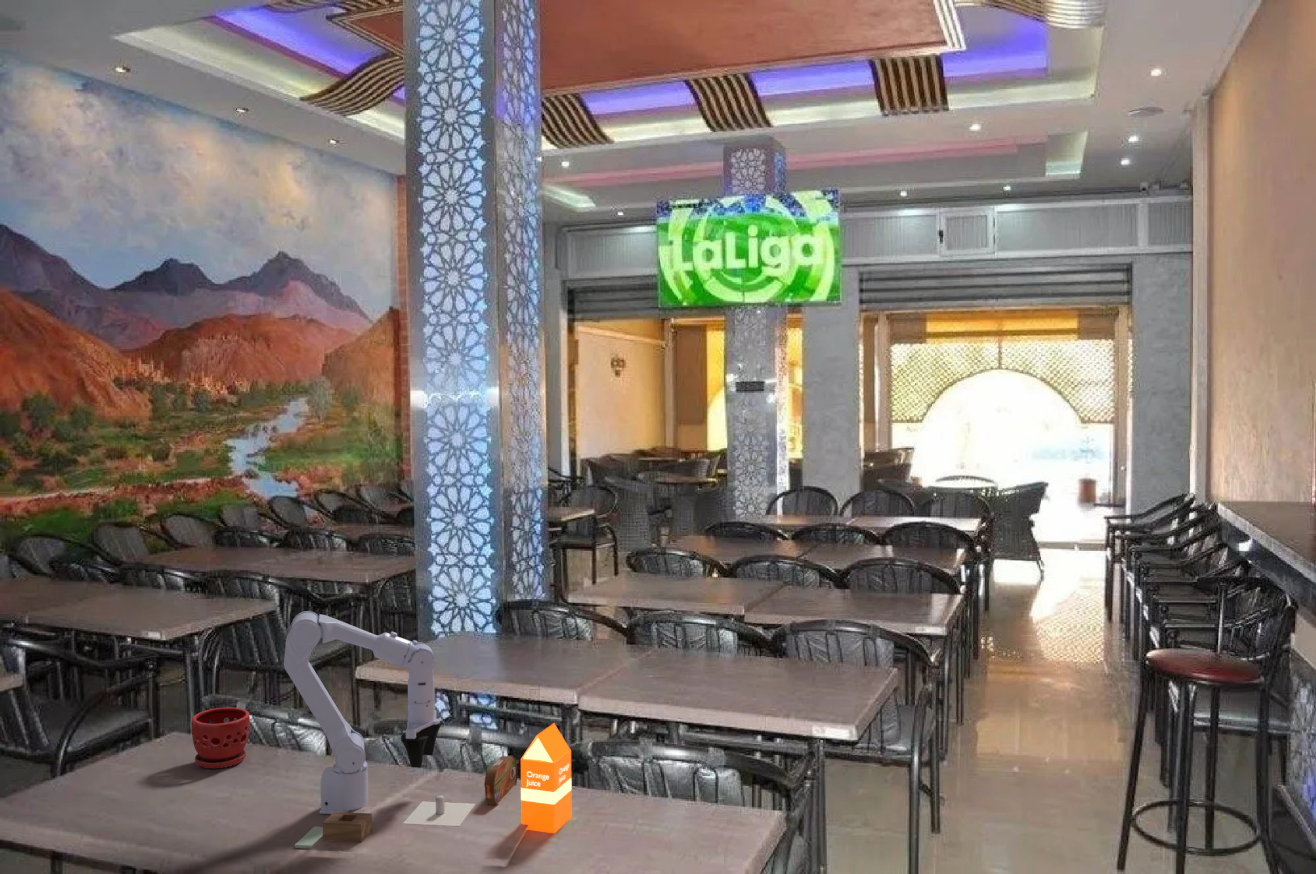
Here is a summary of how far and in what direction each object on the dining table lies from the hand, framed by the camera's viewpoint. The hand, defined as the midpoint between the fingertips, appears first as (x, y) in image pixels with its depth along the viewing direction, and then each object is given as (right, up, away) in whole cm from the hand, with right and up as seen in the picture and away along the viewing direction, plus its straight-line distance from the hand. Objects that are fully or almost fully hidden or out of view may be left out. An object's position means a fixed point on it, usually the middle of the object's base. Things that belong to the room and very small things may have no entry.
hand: (422, 760), depth 235 cm
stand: (+6, -9, -9) cm, 14 cm away
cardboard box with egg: (-10, -9, -21) cm, 25 cm away
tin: (+17, -9, +1) cm, 20 cm away
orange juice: (+29, -10, -12) cm, 33 cm away
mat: (-11, -10, -21) cm, 25 cm away
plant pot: (-55, -8, +25) cm, 60 cm away
